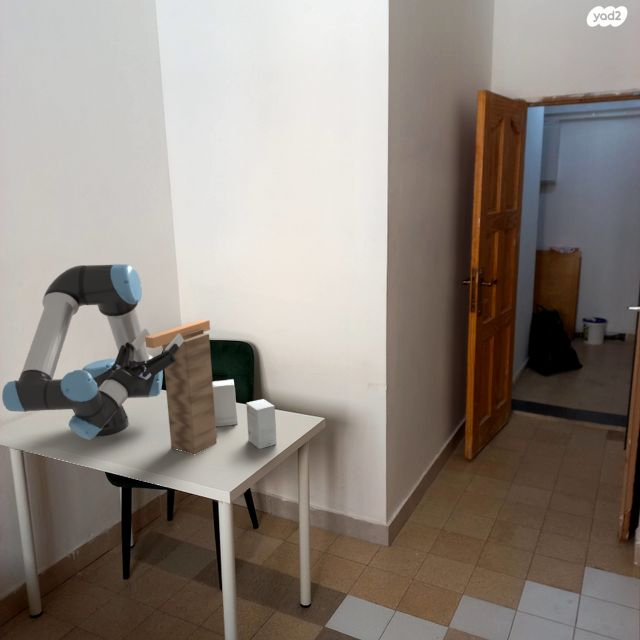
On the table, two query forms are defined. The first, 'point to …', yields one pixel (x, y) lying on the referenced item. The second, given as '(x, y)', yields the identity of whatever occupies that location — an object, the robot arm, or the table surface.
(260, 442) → the small box
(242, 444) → the table surface
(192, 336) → the post
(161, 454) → the table surface
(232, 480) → the table surface
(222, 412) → the skincare box
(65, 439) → the table surface
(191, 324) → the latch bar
